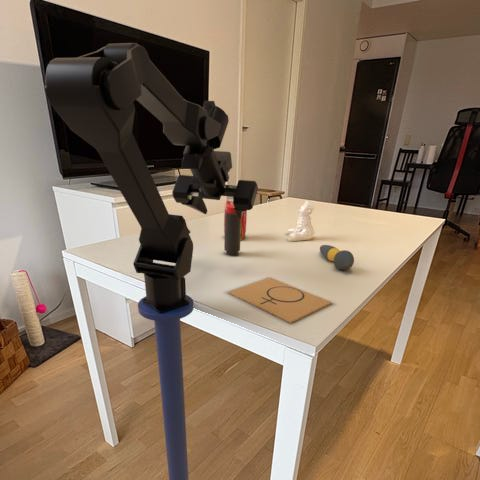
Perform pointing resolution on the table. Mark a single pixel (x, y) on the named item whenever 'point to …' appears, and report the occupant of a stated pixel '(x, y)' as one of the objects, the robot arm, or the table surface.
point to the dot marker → (232, 231)
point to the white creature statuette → (303, 224)
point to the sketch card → (280, 299)
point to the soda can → (243, 219)
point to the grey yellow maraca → (338, 257)
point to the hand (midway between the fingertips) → (223, 214)
